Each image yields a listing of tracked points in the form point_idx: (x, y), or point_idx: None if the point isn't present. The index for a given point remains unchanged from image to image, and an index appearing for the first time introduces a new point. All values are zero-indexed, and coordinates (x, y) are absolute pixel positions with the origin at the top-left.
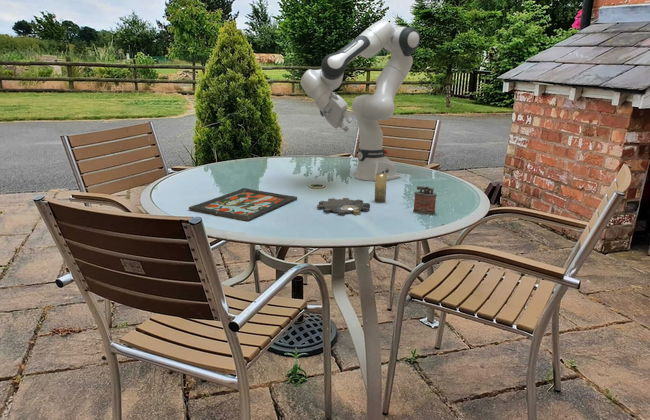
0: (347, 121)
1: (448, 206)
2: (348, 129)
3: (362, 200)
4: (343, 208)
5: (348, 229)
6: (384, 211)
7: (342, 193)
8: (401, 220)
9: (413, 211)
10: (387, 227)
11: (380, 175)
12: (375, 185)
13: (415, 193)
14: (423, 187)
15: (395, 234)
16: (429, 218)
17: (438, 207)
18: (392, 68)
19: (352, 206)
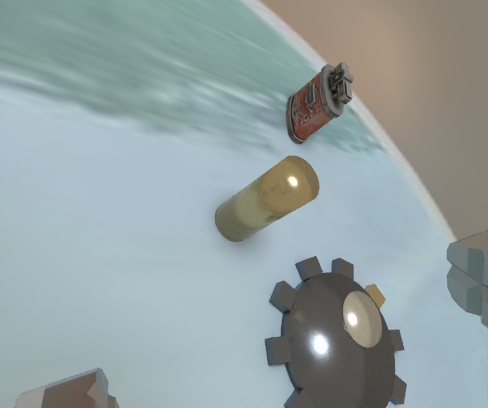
0: (482, 321)
1: (226, 39)
2: (86, 376)
3: (283, 282)
4: (377, 338)
5: (449, 307)
6: (322, 218)
7: (155, 396)
8: (363, 187)
9: (300, 143)
10: (408, 224)
11: (318, 184)
12: (279, 218)
13: (340, 114)
14: (350, 85)
15: (428, 213)
16: (329, 123)
17: (243, 68)
18: None
19: (352, 311)
